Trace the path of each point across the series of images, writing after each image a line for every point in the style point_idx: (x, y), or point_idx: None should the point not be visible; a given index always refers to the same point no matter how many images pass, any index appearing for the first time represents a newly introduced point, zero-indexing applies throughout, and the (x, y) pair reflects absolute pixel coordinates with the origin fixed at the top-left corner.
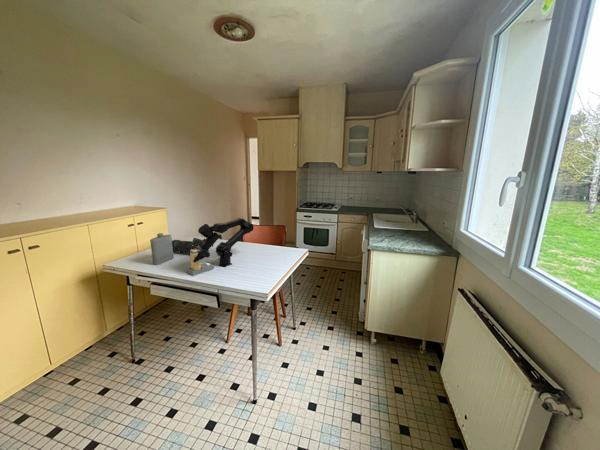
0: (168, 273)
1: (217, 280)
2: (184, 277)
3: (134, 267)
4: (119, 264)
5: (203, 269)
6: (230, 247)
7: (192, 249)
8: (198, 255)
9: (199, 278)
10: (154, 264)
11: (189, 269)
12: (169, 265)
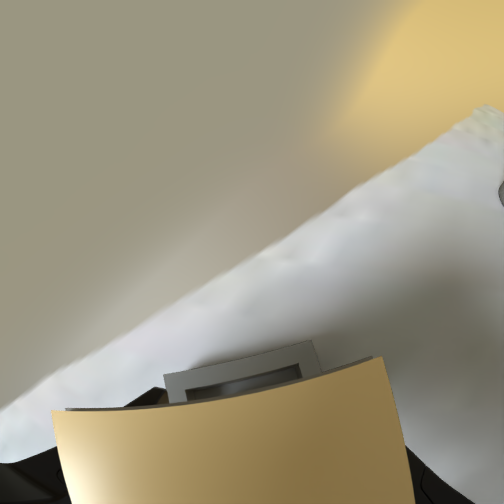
0: (357, 221)
1: (11, 458)
2: (194, 307)
3: (476, 132)
4: (498, 117)
5: None
6: None
7: (393, 473)
8: (35, 473)
9: (95, 397)
10: (500, 186)
11: (264, 364)
12: (492, 250)
